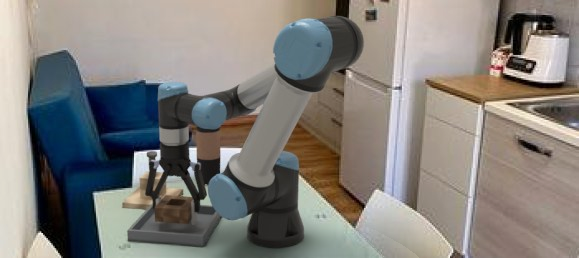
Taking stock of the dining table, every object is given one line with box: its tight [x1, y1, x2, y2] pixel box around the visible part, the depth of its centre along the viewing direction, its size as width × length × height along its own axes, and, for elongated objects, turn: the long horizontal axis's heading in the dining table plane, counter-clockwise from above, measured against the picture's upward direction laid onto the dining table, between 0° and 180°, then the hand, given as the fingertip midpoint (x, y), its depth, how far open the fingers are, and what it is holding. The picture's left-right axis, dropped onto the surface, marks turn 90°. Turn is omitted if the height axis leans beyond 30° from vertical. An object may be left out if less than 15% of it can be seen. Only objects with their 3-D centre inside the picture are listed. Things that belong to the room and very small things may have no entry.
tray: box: [126, 203, 222, 248], centre depth 172 cm, size 20×20×3 cm
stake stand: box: [121, 150, 184, 210], centre depth 189 cm, size 14×14×15 cm
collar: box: [155, 195, 193, 224], centre depth 171 cm, size 9×9×4 cm
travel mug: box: [195, 126, 221, 186], centre depth 205 cm, size 8×8×20 cm
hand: (177, 221), depth 172 cm, fingers closed on collar, 9 cm apart
